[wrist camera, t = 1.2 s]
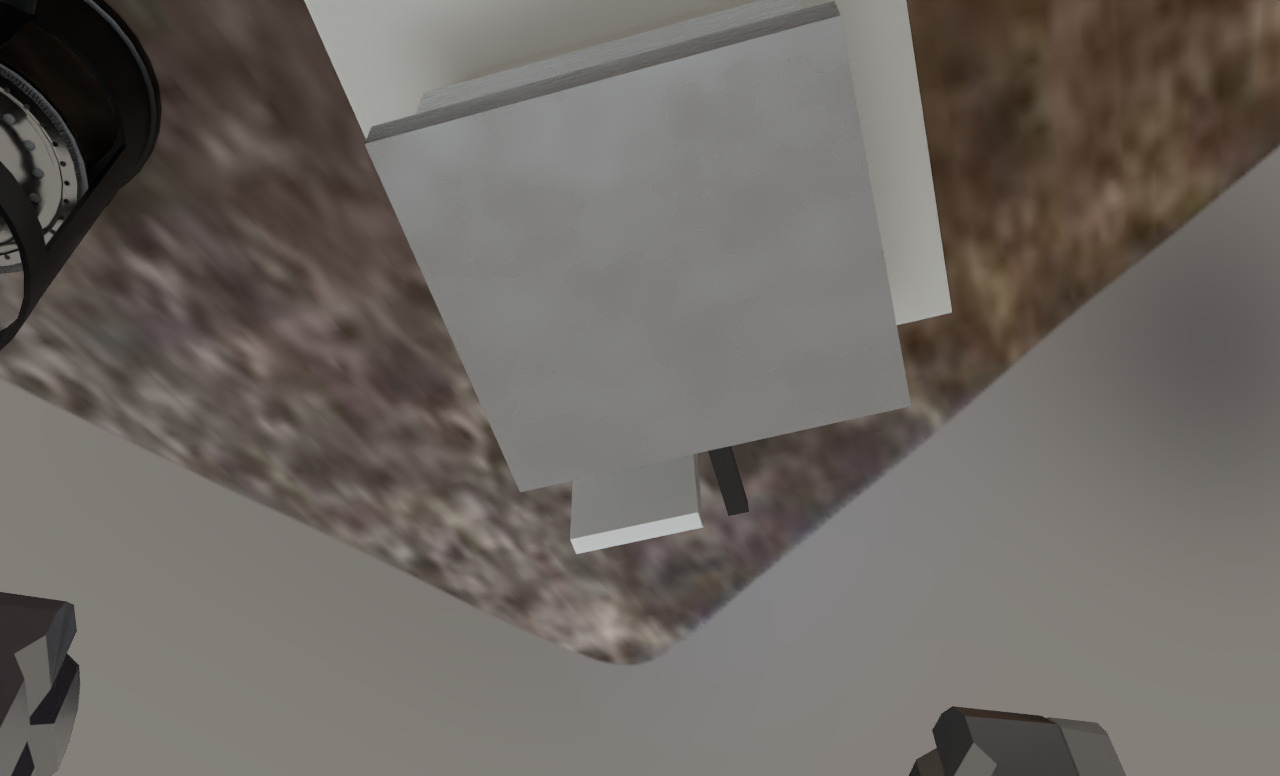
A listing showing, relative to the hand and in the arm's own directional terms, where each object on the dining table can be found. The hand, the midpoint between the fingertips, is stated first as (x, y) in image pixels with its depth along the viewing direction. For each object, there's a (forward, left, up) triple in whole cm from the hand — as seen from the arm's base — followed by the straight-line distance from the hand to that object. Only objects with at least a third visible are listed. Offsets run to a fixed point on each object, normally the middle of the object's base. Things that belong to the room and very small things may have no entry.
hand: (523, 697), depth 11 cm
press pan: (+1, +14, -30) cm, 33 cm away
